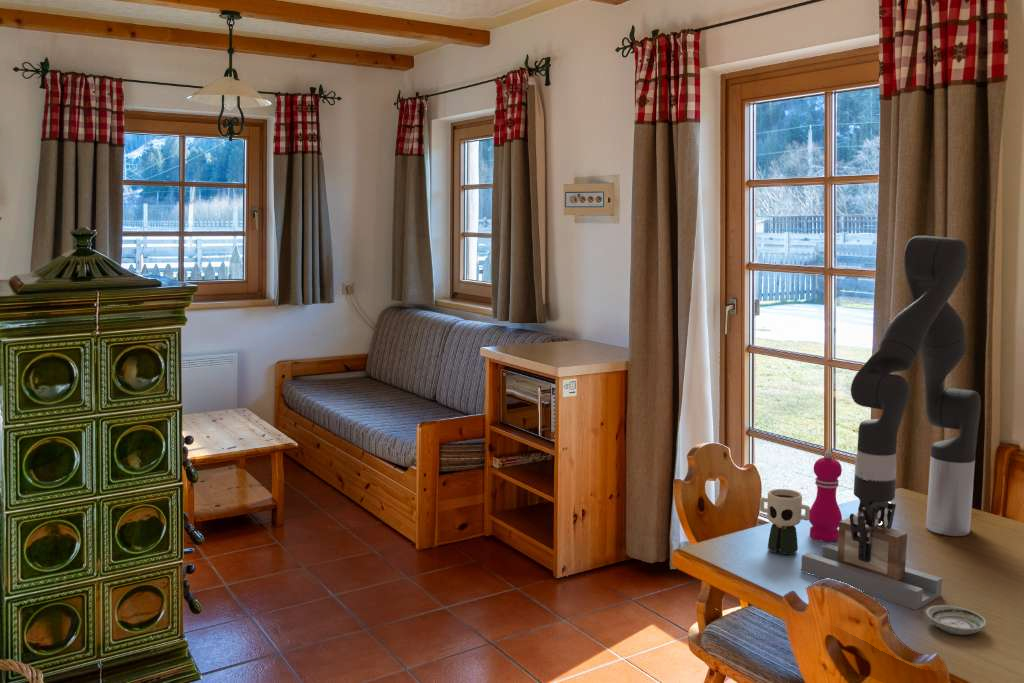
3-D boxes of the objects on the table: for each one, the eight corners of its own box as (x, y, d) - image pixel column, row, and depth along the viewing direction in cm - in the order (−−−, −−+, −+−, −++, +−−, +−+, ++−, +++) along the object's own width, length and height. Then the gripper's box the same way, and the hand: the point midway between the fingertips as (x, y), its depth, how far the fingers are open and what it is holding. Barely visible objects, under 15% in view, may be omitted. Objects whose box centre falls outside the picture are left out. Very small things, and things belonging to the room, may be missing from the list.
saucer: (958, 645, 155) (959, 632, 154) (912, 622, 163) (913, 609, 163) (998, 635, 158) (999, 622, 158) (952, 613, 167) (953, 601, 167)
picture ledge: (827, 559, 193) (828, 543, 192) (941, 595, 175) (942, 578, 174) (801, 571, 186) (801, 555, 186) (916, 610, 168) (917, 592, 168)
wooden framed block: (847, 559, 186) (849, 517, 185) (904, 577, 177) (907, 532, 176) (836, 564, 183) (838, 521, 182) (893, 582, 174) (896, 537, 173)
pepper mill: (843, 543, 202) (848, 456, 200) (809, 541, 204) (813, 454, 201) (838, 532, 209) (842, 448, 207) (805, 530, 211) (809, 446, 208)
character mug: (752, 550, 198) (754, 493, 196) (763, 541, 204) (766, 485, 202) (802, 561, 192) (805, 502, 190) (812, 551, 197) (815, 493, 196)
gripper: (875, 463, 185) (870, 544, 187) (838, 476, 176) (833, 561, 178) (911, 471, 179) (906, 554, 181) (875, 484, 170) (869, 572, 172)
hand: (870, 557), depth 180 cm, fingers closed on wooden framed block, 4 cm apart
